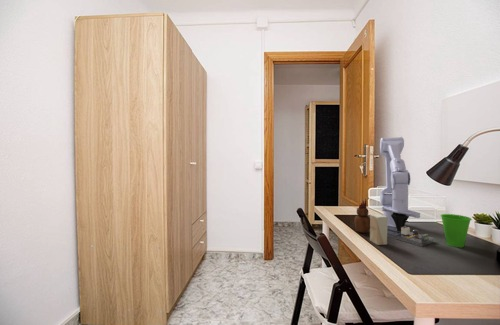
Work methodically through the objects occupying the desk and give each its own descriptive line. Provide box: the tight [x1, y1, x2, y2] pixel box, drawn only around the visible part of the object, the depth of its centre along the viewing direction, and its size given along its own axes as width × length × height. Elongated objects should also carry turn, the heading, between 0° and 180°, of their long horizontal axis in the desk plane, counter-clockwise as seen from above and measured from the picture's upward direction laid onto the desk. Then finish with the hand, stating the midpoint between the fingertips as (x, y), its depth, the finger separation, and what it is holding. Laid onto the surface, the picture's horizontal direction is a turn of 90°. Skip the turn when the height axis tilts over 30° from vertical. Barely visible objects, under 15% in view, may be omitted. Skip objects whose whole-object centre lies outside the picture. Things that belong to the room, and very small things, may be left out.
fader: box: [401, 226, 411, 235], centre depth 98 cm, size 3×2×3 cm
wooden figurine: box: [353, 198, 370, 234], centre depth 107 cm, size 7×6×15 cm
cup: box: [440, 213, 472, 248], centre depth 90 cm, size 9×9×11 cm
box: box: [369, 213, 388, 246], centre depth 93 cm, size 5×4×11 cm
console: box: [387, 225, 436, 247], centre depth 99 cm, size 10×19×4 cm, turn 28°
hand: (400, 230), depth 100 cm, fingers closed
